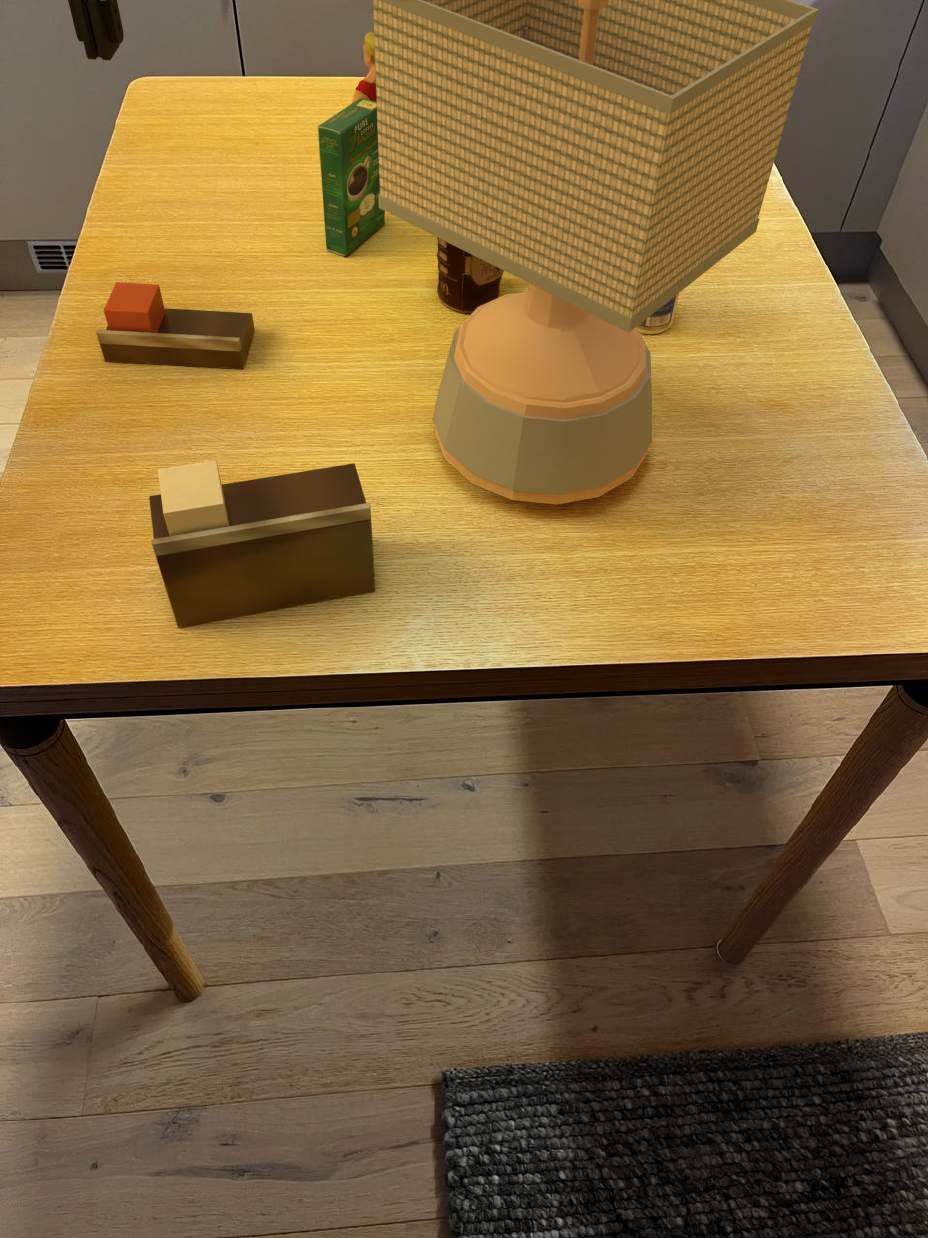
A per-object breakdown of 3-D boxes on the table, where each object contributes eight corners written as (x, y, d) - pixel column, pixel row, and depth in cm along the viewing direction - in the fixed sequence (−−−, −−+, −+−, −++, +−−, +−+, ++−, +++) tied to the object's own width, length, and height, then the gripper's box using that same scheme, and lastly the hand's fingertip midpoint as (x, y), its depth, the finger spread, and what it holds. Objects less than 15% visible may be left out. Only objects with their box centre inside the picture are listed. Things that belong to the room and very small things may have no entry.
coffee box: (365, 215, 111) (359, 93, 100) (387, 223, 110) (384, 100, 100) (324, 250, 106) (313, 125, 96) (347, 258, 105) (338, 133, 95)
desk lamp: (702, 445, 89) (835, -16, 60) (575, 566, 80) (660, 89, 51) (510, 343, 97) (547, -105, 68) (375, 442, 88) (352, -29, 59)
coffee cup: (525, 286, 103) (537, 163, 93) (492, 330, 98) (501, 205, 88) (449, 264, 105) (452, 141, 95) (413, 305, 101) (412, 181, 90)
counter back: (255, 330, 97) (250, 301, 95) (243, 369, 94) (238, 340, 91) (121, 322, 97) (113, 294, 95) (104, 361, 94) (95, 332, 91)
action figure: (394, 151, 120) (391, 14, 108) (416, 162, 118) (416, 24, 106) (338, 181, 115) (328, 41, 103) (361, 192, 114) (354, 52, 102)
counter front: (359, 536, 81) (353, 450, 74) (375, 591, 77) (370, 507, 70) (170, 569, 78) (145, 483, 71) (178, 628, 75) (151, 544, 67)
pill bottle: (627, 299, 102) (642, 218, 96) (677, 311, 101) (696, 230, 94) (613, 328, 99) (628, 246, 92) (665, 341, 98) (683, 259, 91)
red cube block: (165, 312, 95) (159, 284, 93) (154, 340, 92) (147, 312, 90) (123, 309, 95) (116, 281, 93) (111, 338, 92) (103, 309, 90)
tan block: (223, 490, 72) (216, 459, 70) (230, 533, 70) (223, 503, 67) (166, 499, 72) (157, 468, 69) (172, 543, 69) (163, 513, 67)
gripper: (-119, -269, 58) (-14, 67, 72) (139, -253, 58) (193, 80, 72) (-70, -295, 63) (20, 25, 77) (169, -280, 63) (215, 37, 77)
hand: (104, 51), depth 74 cm, fingers closed
